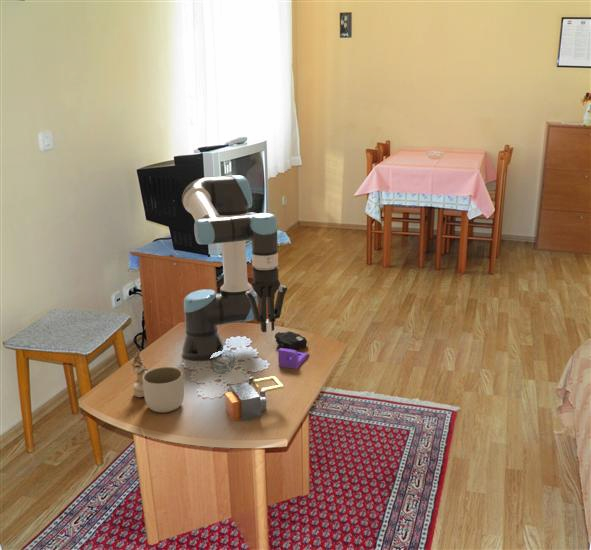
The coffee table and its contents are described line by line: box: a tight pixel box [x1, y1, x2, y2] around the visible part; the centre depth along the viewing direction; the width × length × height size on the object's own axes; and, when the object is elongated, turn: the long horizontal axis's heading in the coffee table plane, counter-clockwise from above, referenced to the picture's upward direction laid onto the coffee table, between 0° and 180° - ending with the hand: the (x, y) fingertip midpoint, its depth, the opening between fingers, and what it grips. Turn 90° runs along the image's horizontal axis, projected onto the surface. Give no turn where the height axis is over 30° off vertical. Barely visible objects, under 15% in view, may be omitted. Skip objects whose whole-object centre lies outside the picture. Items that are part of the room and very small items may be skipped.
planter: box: [142, 366, 185, 414], centre depth 205 cm, size 12×12×11 cm
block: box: [230, 376, 266, 422], centre depth 202 cm, size 11×8×8 cm
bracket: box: [277, 347, 310, 370], centre depth 236 cm, size 12×7×7 cm, turn 157°
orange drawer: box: [224, 391, 267, 421], centre depth 202 cm, size 11×7×6 cm, turn 114°
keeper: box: [251, 375, 285, 393], centre depth 203 cm, size 8×1×8 cm
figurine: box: [130, 352, 149, 398], centre depth 213 cm, size 7×7×15 cm
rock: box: [274, 331, 308, 352], centre depth 247 cm, size 10×9×6 cm
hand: (268, 340), depth 199 cm, fingers closed
